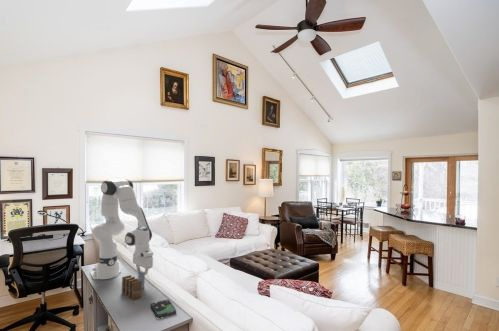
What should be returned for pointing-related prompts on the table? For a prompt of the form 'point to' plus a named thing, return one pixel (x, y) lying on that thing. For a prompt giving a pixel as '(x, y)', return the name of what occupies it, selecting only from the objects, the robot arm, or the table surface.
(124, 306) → the table surface
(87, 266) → the table surface
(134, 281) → the domino
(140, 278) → the end domino
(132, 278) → the domino
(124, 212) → the robot arm
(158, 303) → the disk drive
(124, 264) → the table surface
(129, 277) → the domino
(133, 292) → the domino
